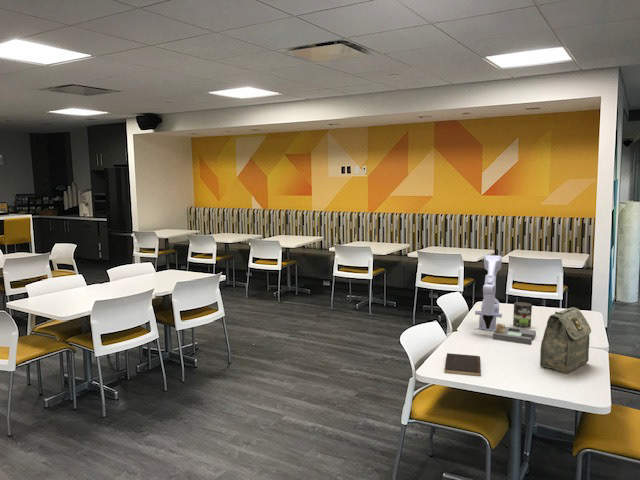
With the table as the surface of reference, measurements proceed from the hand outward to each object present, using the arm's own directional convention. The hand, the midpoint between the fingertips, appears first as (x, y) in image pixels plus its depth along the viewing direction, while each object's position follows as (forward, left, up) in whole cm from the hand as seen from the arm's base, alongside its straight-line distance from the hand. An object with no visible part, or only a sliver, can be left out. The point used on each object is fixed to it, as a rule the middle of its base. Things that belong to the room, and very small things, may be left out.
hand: (487, 328), depth 300 cm
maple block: (+7, 0, -1) cm, 7 cm away
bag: (+43, -31, -4) cm, 53 cm away
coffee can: (+14, +28, -4) cm, 32 cm away
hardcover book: (+1, -56, -5) cm, 56 cm away
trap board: (+14, +3, -4) cm, 15 cm away
